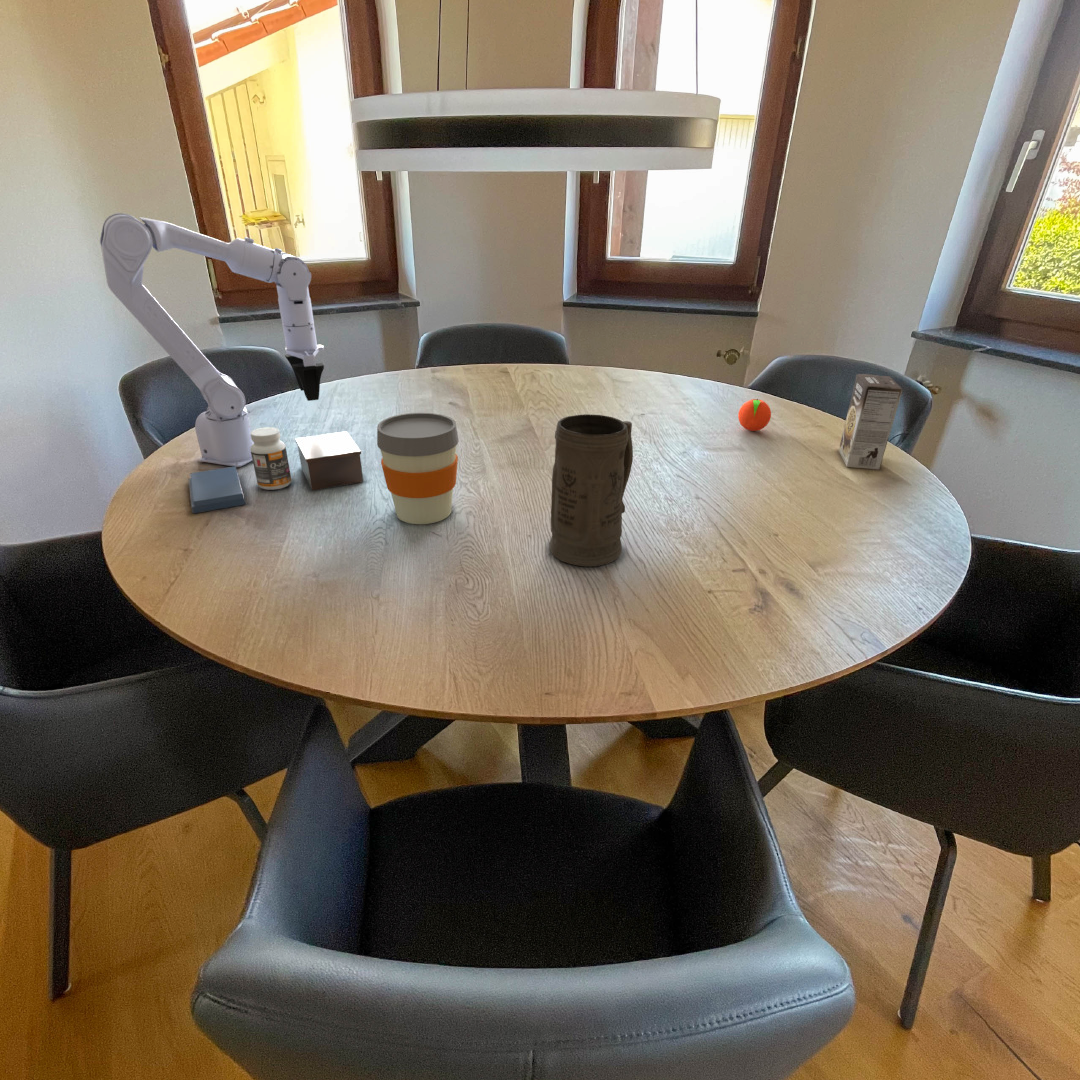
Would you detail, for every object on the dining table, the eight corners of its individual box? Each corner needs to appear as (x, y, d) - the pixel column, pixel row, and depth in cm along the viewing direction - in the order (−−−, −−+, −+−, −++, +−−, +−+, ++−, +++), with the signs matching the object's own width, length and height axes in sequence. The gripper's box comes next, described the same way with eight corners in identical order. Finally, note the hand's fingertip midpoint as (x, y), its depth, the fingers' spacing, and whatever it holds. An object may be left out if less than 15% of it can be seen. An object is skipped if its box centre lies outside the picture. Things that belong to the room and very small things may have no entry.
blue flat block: (193, 513, 107) (190, 502, 106) (190, 484, 117) (187, 473, 116) (245, 504, 110) (243, 493, 109) (238, 476, 120) (236, 466, 119)
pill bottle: (281, 492, 114) (270, 438, 110) (251, 489, 115) (239, 435, 111) (298, 479, 119) (288, 427, 115) (269, 476, 120) (259, 424, 116)
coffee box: (836, 450, 136) (855, 373, 128) (870, 453, 135) (891, 375, 127) (845, 467, 128) (866, 385, 120) (880, 470, 127) (904, 387, 119)
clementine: (767, 438, 142) (773, 406, 139) (734, 434, 144) (739, 403, 140) (768, 427, 149) (774, 396, 145) (737, 423, 151) (742, 393, 147)
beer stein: (598, 577, 91) (612, 438, 83) (533, 556, 96) (540, 422, 88) (643, 540, 103) (659, 414, 95) (583, 522, 108) (593, 402, 100)
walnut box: (311, 491, 115) (305, 459, 112) (300, 468, 124) (295, 438, 121) (364, 482, 119) (360, 451, 116) (350, 460, 128) (346, 431, 125)
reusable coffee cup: (439, 535, 102) (433, 443, 94) (370, 521, 105) (358, 432, 98) (474, 502, 112) (471, 417, 105) (409, 491, 116) (402, 408, 108)
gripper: (327, 329, 120) (337, 402, 126) (313, 315, 131) (322, 383, 138) (287, 332, 117) (299, 406, 124) (275, 318, 128) (287, 387, 135)
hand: (309, 394), depth 130 cm, fingers open, 7 cm apart
